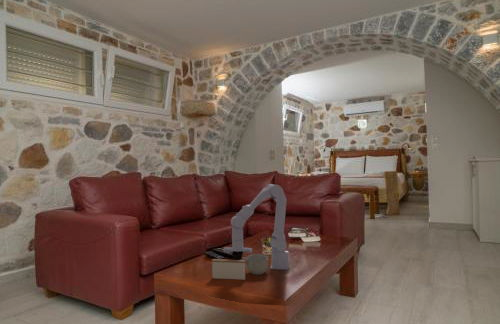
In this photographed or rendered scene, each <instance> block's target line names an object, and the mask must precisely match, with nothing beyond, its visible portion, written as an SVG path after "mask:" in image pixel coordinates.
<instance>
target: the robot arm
mask: <svg viewBox="0 0 500 324" xmlns="http://www.w3.org/2000/svg"><path fill="white" fill-rule="evenodd" d="M270 198H272V199H273V200H274V202H276V204H275V213H274V214H275V216H274V224H273V225H274V226H273V232H272V233H271V238H270V239H269V245H270V246H271V251H270V253H271V256H270V257H271V264H270V265H271V266H270V268H269V269H270V270H287V271H288V270H289V268H290V264H291V263H290V252H289V250H286V249H287V240H286V235H285V221H286V211H287V199H288V198H287V197H286V194H285V192H284V189H283V188H282V186H280V185H278V184H273V183H268V184H266V186H264V187H263V188H262V189H261V191H260V192H259V193H258V194H257V196H256V197H254V199H253V200H252V201H251V202H250V203H249V204H245V205H242V207H241V209H240V210H239V212H237V213H235V215H234V216H232V217H231V220H230V225H231V247H230V246H228V247H223V253H226V252H227V253H232V254H231V255H232V257H233V260H241V259H242V258H243V255H244V253H250V254H252V252H253V248H251V247H245V246H244V226H245V222H246V221H247V220H248V219H249V218H250V217H252V215H253V214H254V213H255V209H256V208H257V207H258V206H259V205H260V204H261V203H262V202H264V200H266V199H270Z"/></svg>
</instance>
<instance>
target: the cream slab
mask: <svg viewBox="0 0 500 324" xmlns="http://www.w3.org/2000/svg"><path fill="white" fill-rule="evenodd" d="M211 262H212V263H211V264H212V265H211V266H212V268H211V269H212V270H211V271H212V273H211V274H212V275H211V276H212V279H220V280H223V279H224V280H246V267H245V265H246V263H247V262H246V260H235V259H224V258H223V259H221V258H220V259H218V258H213V259H211Z"/></svg>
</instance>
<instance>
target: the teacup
mask: <svg viewBox="0 0 500 324" xmlns="http://www.w3.org/2000/svg"><path fill="white" fill-rule="evenodd" d="M241 260H245V261H246V262H245V263H246V264H245V270H246V269H247V270H248V271H249V272H250V274H253V275H257V276H258V275H259V276H260V275H263V274H264V273H265V272H267V270H268V268H269V256H268V255H265V254H262V253H257V254H255V253H253V254H250V255H248V256H247V257H242V258H241Z"/></svg>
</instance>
